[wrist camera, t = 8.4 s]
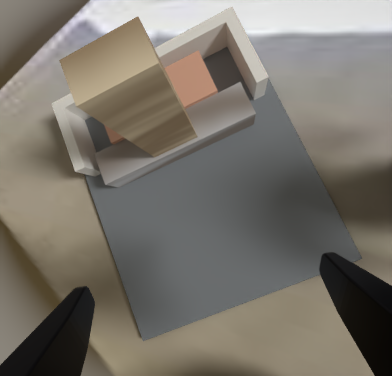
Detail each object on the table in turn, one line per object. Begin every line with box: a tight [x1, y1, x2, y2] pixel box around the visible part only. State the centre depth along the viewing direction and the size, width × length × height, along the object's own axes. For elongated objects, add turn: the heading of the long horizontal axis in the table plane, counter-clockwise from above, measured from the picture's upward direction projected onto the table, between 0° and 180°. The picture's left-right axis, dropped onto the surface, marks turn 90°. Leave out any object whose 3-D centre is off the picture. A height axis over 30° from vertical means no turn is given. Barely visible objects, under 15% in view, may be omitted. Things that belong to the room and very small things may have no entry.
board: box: [85, 47, 362, 341], centre depth 22 cm, size 24×20×1 cm
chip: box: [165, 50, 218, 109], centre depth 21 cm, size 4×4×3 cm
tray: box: [52, 7, 269, 176], centre depth 22 cm, size 7×18×3 cm, turn 113°
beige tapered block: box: [59, 17, 256, 187], centre depth 16 cm, size 3×14×12 cm, turn 113°
